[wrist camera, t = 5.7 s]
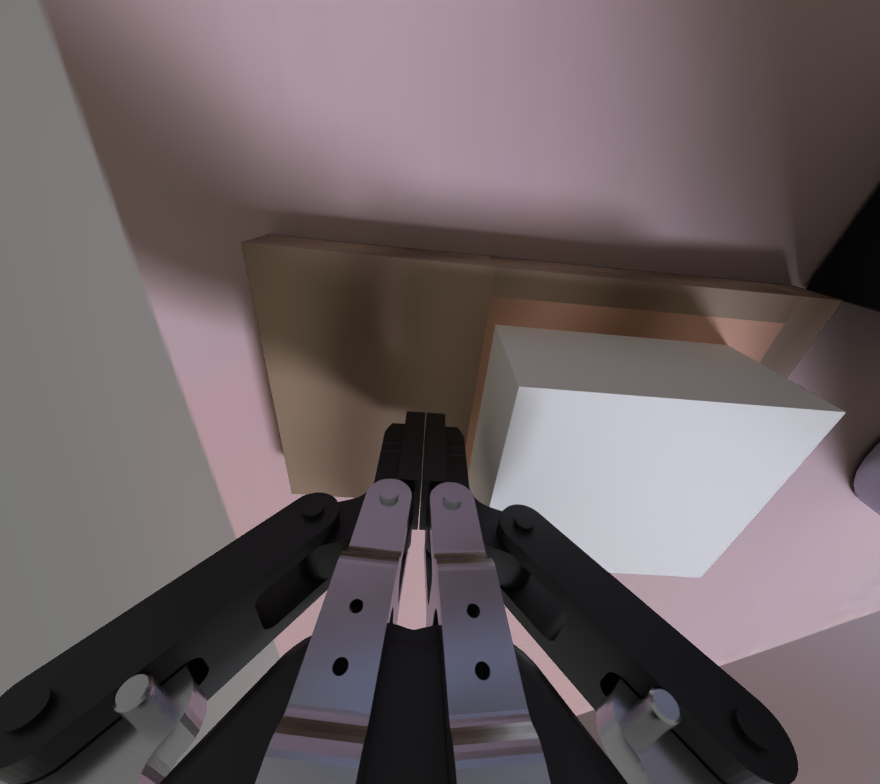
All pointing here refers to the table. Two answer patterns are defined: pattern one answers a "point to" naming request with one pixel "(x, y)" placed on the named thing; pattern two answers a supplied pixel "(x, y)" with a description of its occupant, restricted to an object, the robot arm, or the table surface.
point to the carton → (638, 442)
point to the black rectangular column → (855, 262)
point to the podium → (462, 335)
